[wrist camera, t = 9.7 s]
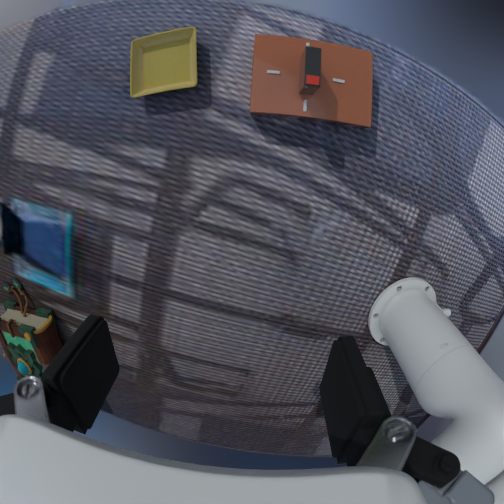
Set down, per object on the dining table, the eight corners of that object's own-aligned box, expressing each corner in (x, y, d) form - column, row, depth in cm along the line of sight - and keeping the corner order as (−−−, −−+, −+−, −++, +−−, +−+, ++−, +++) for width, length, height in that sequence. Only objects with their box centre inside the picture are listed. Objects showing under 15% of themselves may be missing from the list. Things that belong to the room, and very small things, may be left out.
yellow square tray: (136, 100, 30) (129, 98, 28) (136, 44, 27) (130, 39, 25) (201, 89, 30) (197, 86, 28) (199, 31, 27) (196, 25, 25)
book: (-9, 273, 40) (-38, 293, 31) (50, 281, 40) (17, 309, 30) (28, 366, 49) (9, 390, 40) (89, 387, 49) (71, 418, 40)
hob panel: (364, 58, 27) (373, 51, 24) (362, 128, 31) (371, 127, 28) (255, 42, 27) (255, 33, 24) (250, 115, 31) (249, 111, 28)
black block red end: (300, 57, 25) (306, 44, 21) (314, 59, 25) (322, 47, 21) (298, 93, 27) (304, 85, 23) (312, 95, 27) (320, 87, 23)
